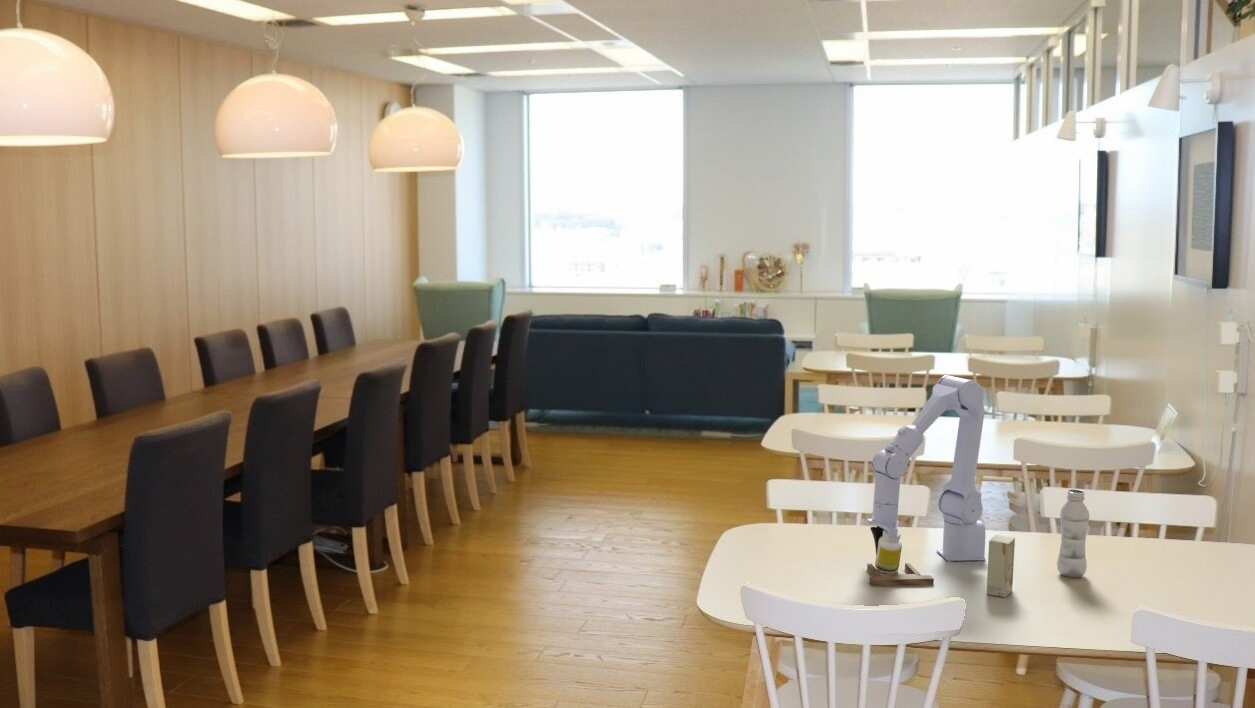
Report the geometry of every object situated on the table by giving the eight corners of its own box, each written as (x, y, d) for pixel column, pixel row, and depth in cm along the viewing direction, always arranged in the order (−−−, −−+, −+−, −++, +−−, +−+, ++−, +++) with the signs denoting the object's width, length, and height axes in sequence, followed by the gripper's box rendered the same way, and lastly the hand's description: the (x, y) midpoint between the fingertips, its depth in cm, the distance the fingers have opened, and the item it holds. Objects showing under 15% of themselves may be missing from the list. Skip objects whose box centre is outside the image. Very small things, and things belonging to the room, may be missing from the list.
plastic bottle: (1087, 573, 271) (1092, 489, 269) (1085, 582, 265) (1090, 496, 263) (1057, 569, 274) (1062, 486, 271) (1055, 578, 268) (1059, 493, 265)
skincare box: (1005, 598, 254) (1008, 543, 253) (985, 594, 257) (988, 540, 255) (1013, 590, 260) (1016, 536, 258) (993, 586, 262) (996, 533, 260)
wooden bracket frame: (917, 569, 274) (917, 562, 274) (933, 585, 263) (933, 578, 263) (858, 570, 273) (858, 563, 273) (872, 586, 262) (872, 579, 262)
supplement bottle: (901, 574, 271) (907, 538, 267) (879, 575, 270) (884, 539, 266) (893, 560, 276) (899, 525, 272) (871, 561, 275) (876, 526, 271)
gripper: (861, 493, 280) (857, 548, 282) (877, 509, 266) (873, 567, 268) (890, 494, 281) (886, 549, 282) (908, 510, 266) (903, 568, 268)
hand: (881, 558), depth 275 cm, fingers closed, pressing on supplement bottle
